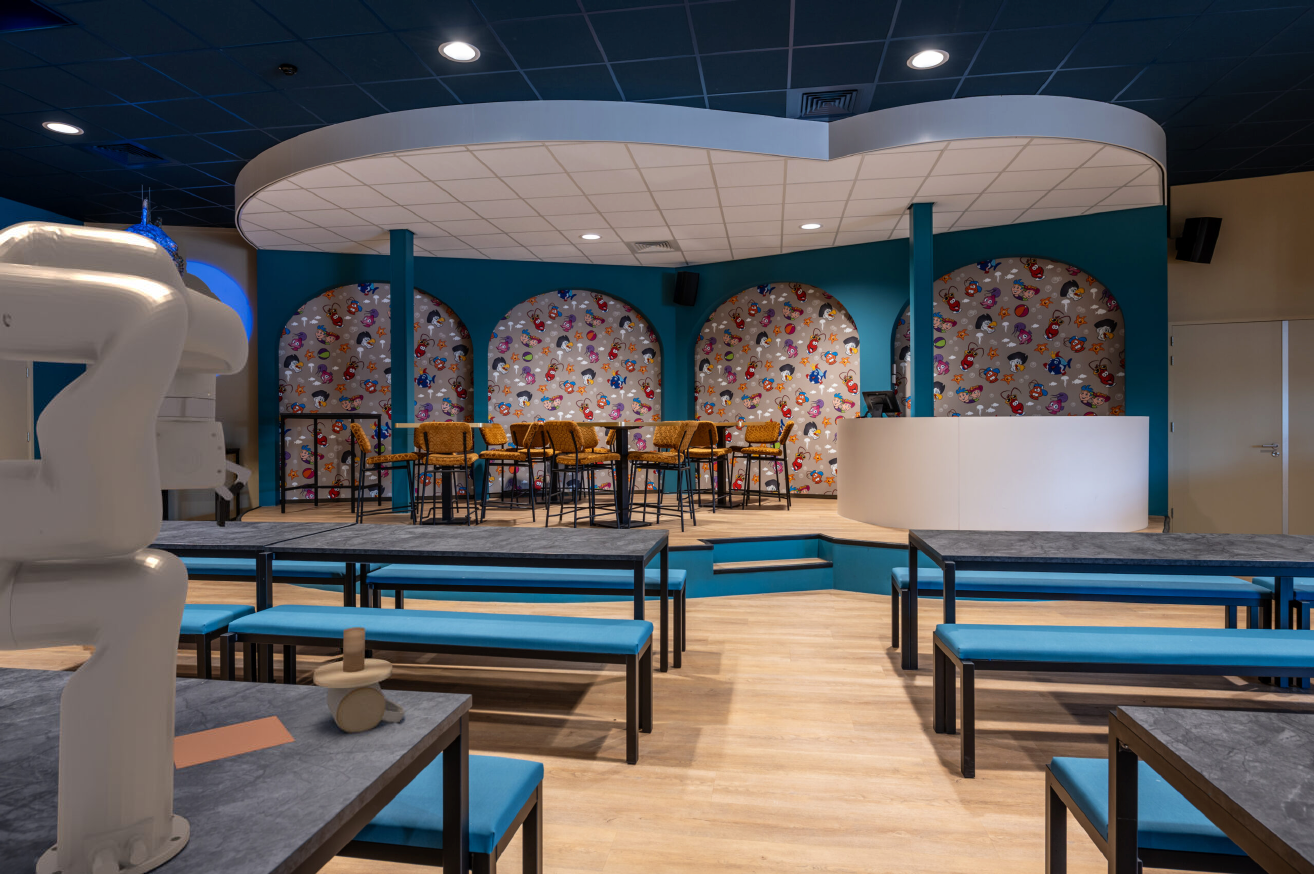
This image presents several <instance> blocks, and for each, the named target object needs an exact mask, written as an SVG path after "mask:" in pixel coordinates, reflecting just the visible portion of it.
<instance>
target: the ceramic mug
mask: <svg viewBox="0 0 1314 874" xmlns="http://www.w3.org/2000/svg"><path fill="white" fill-rule="evenodd" d="M326 704H327V707H328V710H329V712H330V713H331V715H332V717H333V719H334V722H335V724H336V725H337V726H338V728H340V729H341V730H343V731H344V732H346V733H348V734H349V733H350V734H353V733H361V732H365V731H370V730H372V729H374V728H376V726H378V725H379V723H380V722H381V721H383V722H388V723H399V722H401V721H402V720H401V719H403V717H404V715H405V713H406V712H405V709H404V708H403V707H402V706H401V705H400V704H398V703H397V702H394V701H393V700H390V699H387V698H386V696H385V694H384V692H383V690H382V689H381V686H380V684H379V682H377V683H373V684H369V685H365V686H359V687H351V688H328V691H327V694H326ZM400 720H401V721H400Z"/></svg>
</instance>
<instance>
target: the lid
mask: <svg viewBox="0 0 1314 874" xmlns="http://www.w3.org/2000/svg"><path fill="white" fill-rule="evenodd" d="M365 642H366V628H365V627H361V626H360V627H359V626H357V627H355V626H354V627H350V628H345V629H343V647H342V648H343V649H342V650H343V651H342V652H343V654H342V660H340V661H335V662H332V663H329V664H326V665H323V666H320V667H318V668H317V669H315V671H314V672H313V680H312V681H313V684H315V685H316V686H319V687H322V688H328V689H329V688H351V687H359V686H365V685H369V684H373V683H377V682H378V683H379V682H382V681H384V680H387V679H389V677H390V676H392V674H393V664H392V663H391V662H390V661H388V660H384V659H378V658H365V656H366V655H365V651H366V643H365Z"/></svg>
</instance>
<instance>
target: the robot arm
mask: <svg viewBox="0 0 1314 874" xmlns="http://www.w3.org/2000/svg"><path fill="white" fill-rule="evenodd" d="M248 357H249V340H248V336H247V332H246V329H245V326H244V323H243V321H242V319H241V316H240V315H239V313H238V312H237V311H236V310H235V309H233V307H231V306H230V305H228V304H226V303H224V302H222V301H220V300H217V299H215V298H213V297H210V296H208V295H206V294H203V293H201V292H200V291H197V290H195V289H192V288H190V287H187V286H186V285H185V283H184V281H183V278H182V276H181V274H180V272H179V269H178V268H177V265H176V264H175V262H174V260H173V258H172V256H171V255H170V253H169V252H168V251H167V250H166V249H165V248H164V246H162V245H161V244H160V243H158V242H157V241H155V240H154V239H151V238H149V237H147V236H145V235H143V234H139V233H135V232H131V231H126V230H119V229H112V228H111V229H110V228H104V227H103V228H102V227H93V226H84V225H77V224H76V225H75V224H65V223H57V222H49V221H48V222H47V221H39V220H37V221H35V220H33V221H32V220H31V221H22V222H18V223H15V224H12V225H9V226H7V227H5V228H2V229H1V230H0V361H2V360H3V361H23V362H24V361H25V362H26V361H27V362H44V363H45V362H46V363H61V364H62V363H64V364H88V365H89V364H91V365H90V366H89V368H87V369H86V370H85V372H83V373H82V374H80V375H79V376H78V377H77V378H75V379H74V380H73V381H72V382H70V383H69V384H68V385H66V386H65V387H64V388H63V389H61V391H59V393H57V394H56V395H55V396H54V397H53V399H51V401H50V402H49V403H48V404H47V405H46V407H45V408H44V409H43V411H41V413H40V414H39V416H38V420H37V421H36V436H37V440H38V441H37V442H38V446H39V451H40V458H41V459H0V651H1V652H4V651H5V652H9V651H23V650H24V651H25V650H35V649H36V650H38V649H47V648H57V647H59V648H60V647H61V648H62V647H71V646H76V647H78V646H79V647H80V646H81V647H82V646H83V647H84V646H92V647H94V649H95V650H94V652H93V653H92V654H91V656H90V657H89V658H88V659H87V660H86V661H84V663H82V665H81V666H79V667H78V668H77V670H76V671H75V672H73V674H72V675H71V676H70V677H69V679H68V681H67V682H66V683H65V685H64V688H63V690H62V693H61V696H60V705H59V707H60V710H59V715H60V716H59V747H58V748H59V749H58V750H59V751H58V753H59V754H58V755H59V756H58V786H57V787H58V791H57V792H58V793H57V794H58V795H57V826H56V827H57V830H56V831H57V834H56V835H57V837H56V838H57V840H56V843H55V844H54V845H52V846H51V847H50V848H48V849H47V850H46V851H45V852H44V853H43V854H42V855H41V856H40V858H39V859H38V861H37V863H36V865H35V866H36V867H35V874H144V873H147V872H150V871H151V870H153V869H155V868H157V867H159V866H161V865H163V864H165V863H166V862H167V861H169V860H170V859H172V858H173V857H175V856H176V855H177V854H178V853H180V851H181V850H182V849H183V848H184V847H185V846H186V844H187V843H188V841H189V840H190V835H191V831H190V830H191V828H190V827H191V825H190V822H189V821H188V819H186V818H185V817H183V816H182V815H178V814H175V813H174V812H173V811H174V808H173V807H174V772H175V771H174V766H175V763H174V737H175V722H176V719H175V718H176V689H177V688H176V686H177V683H176V682H177V662H178V659H177V658H178V647H179V640H180V631H181V625H182V621H183V616H184V611H185V606H186V600H187V595H188V589H189V588H188V587H189V574H188V569H187V566H186V564H185V563H184V562H183V561H182V559H181V558H180V557H178V556H177V555H175V554H174V553H172V552H168V551H167V550H163V549H158V548H149V546H150V545H151V544H153V543H154V542H155V541H156V540H157V537H158V536H159V535H160V532H161V528H162V524H163V512H164V511H163V495H162V490H197V489H200V490H202V489H213V490H214V492H216V493H217V494H218V495H219V499H217V500H216V525H217V526H218V527H220V528H225V527H226V522H229V521H230V520H231V500H232V499H233V498H234V497H235V496H236V495H237V494H239V492H241V491H242V490H243V489H244V488H245V486H246V484H247V483H248V481H249V479H250V477H251V475H252V470H250V469H248V468H246V467H243V466H241V465H239V464H237V463H234V462H233V461H231V460H228V459H227V458H226V445H225V444H226V443H225V435H224V430H223V424H222V422H221V421H216V391H217V390H216V387H217V385H216V384H217V380H216V379H217V375H219V376H221V375H223V376H227V375H228V376H229V375H230V376H231V375H235V374H238V373H239V372H240V371H242V370H243V369H244V367H245V366H246V364H247V362H248ZM227 471H230V472H232V473H235V474H236V475H237V478H236V480H235V482H234V483H232V484H231V485H230V486H229V487H226V486H225V485H224V484H225V482H226V476H227V475H226V473H227Z"/></svg>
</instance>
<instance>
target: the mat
mask: <svg viewBox="0 0 1314 874" xmlns="http://www.w3.org/2000/svg"><path fill="white" fill-rule="evenodd" d="M293 742H296V739H295V738H294V736H292V735H291V733H290V732H289V731H288V730H287V728H286V726H285V725H284V724H283V723H282V722H281V720H280V719H279V718H278V717H277V715H274V716H268V717H263V718H260V719H259V718H257V719H253V720H249V721H244V722H240V723H235V724H230V725H225V726H222V727H221V726H220V727H216V728H211V729H207V730H203V731H202V730H201V731H198V732H197V731H196V732H192V733H188V734H184V735H178V736H174V766H175V769H176V770H179V769H183V768H188V767H192V766H196V765H200V764H205V763H208V762H209V763H210V762H214V761H218V760H221V759H225V758H229V757H235V756H239V755H242V754H243V755H244V754H246V753H247V754H248V753H251V752H255V751H256V752H257V751H259V750H264V749H268V748H272V747H276V746H280V745H284V744H290V743H293Z"/></svg>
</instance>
